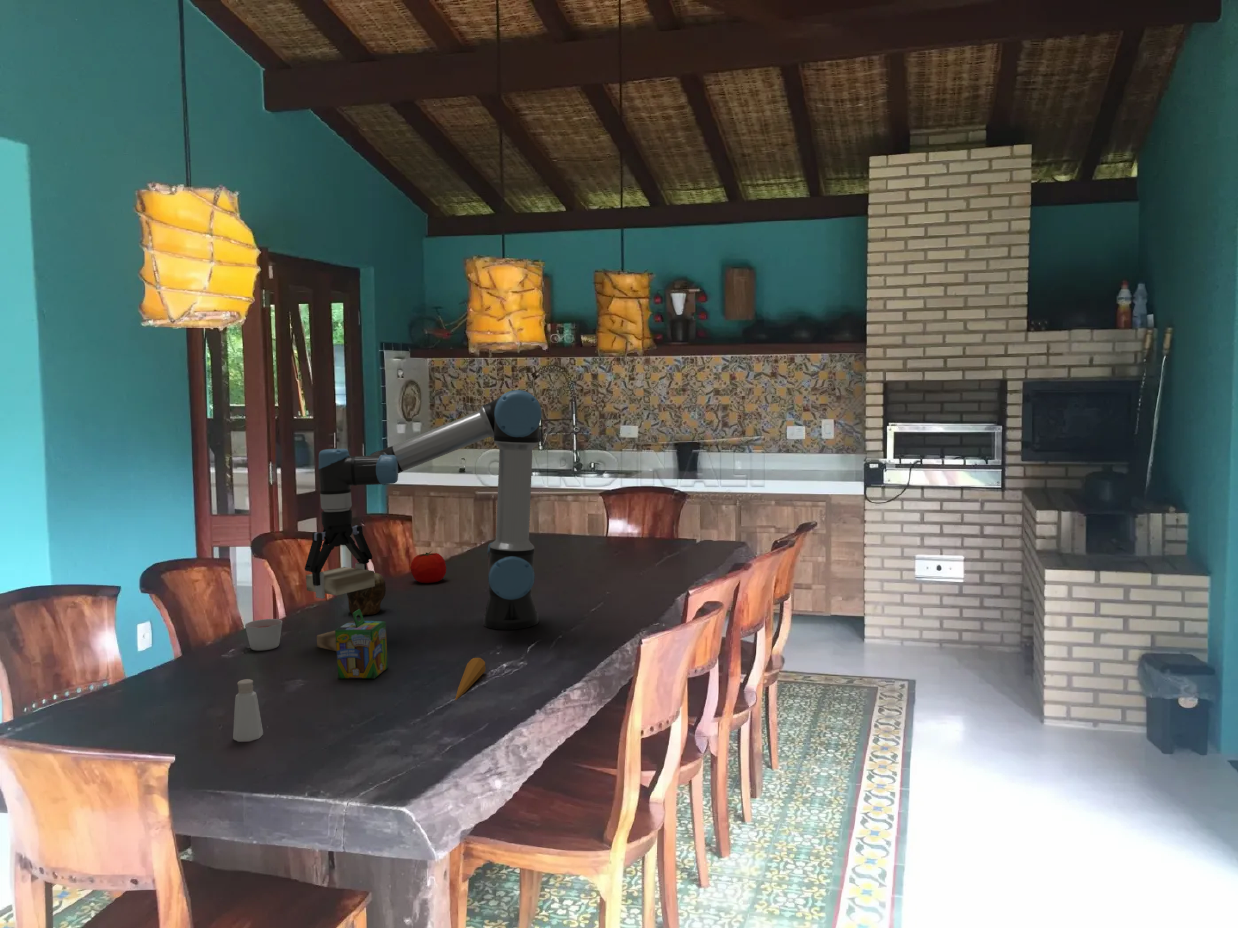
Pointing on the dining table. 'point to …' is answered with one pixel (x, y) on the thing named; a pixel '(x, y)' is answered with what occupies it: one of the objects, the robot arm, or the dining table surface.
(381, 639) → the chalk box
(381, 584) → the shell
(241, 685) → the salt shaker
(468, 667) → the carrot
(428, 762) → the dining table surface
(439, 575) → the tomato
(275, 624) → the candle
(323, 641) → the trivet
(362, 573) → the cover board
